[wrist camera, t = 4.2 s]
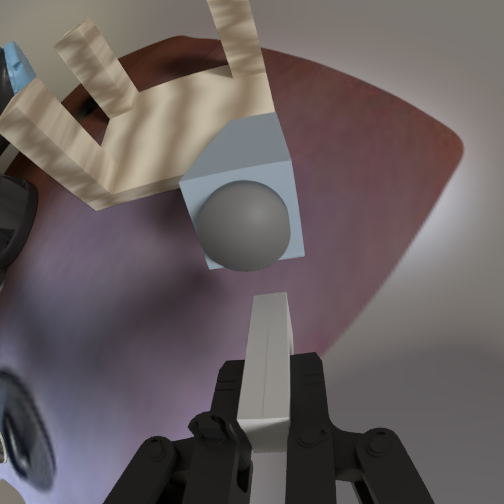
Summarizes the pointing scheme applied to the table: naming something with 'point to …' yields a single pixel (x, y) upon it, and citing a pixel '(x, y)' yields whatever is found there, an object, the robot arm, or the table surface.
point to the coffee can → (2, 450)
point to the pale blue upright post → (245, 196)
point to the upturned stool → (138, 114)
